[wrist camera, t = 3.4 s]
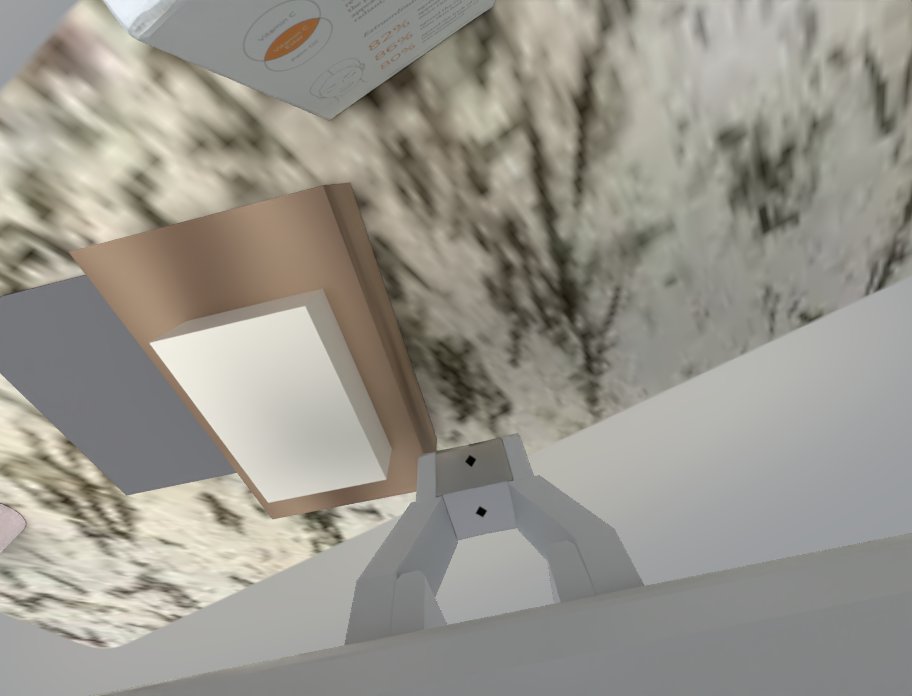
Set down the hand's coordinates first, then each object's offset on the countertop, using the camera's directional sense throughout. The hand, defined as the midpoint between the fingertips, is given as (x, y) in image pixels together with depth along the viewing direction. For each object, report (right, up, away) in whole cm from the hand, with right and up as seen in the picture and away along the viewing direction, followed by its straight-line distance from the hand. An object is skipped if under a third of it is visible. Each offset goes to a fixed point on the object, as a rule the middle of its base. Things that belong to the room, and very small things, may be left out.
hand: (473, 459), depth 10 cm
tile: (-8, +1, +6) cm, 10 cm away
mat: (-19, +1, +10) cm, 22 cm away
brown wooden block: (-8, +3, +9) cm, 13 cm away
